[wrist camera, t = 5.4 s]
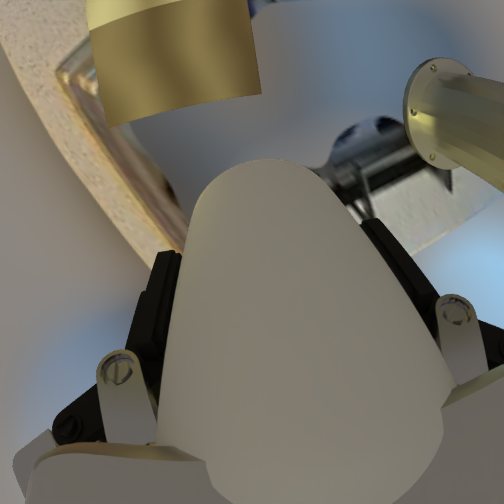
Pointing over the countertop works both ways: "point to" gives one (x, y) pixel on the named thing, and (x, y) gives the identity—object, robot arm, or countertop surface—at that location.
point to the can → (296, 349)
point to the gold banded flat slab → (170, 54)
